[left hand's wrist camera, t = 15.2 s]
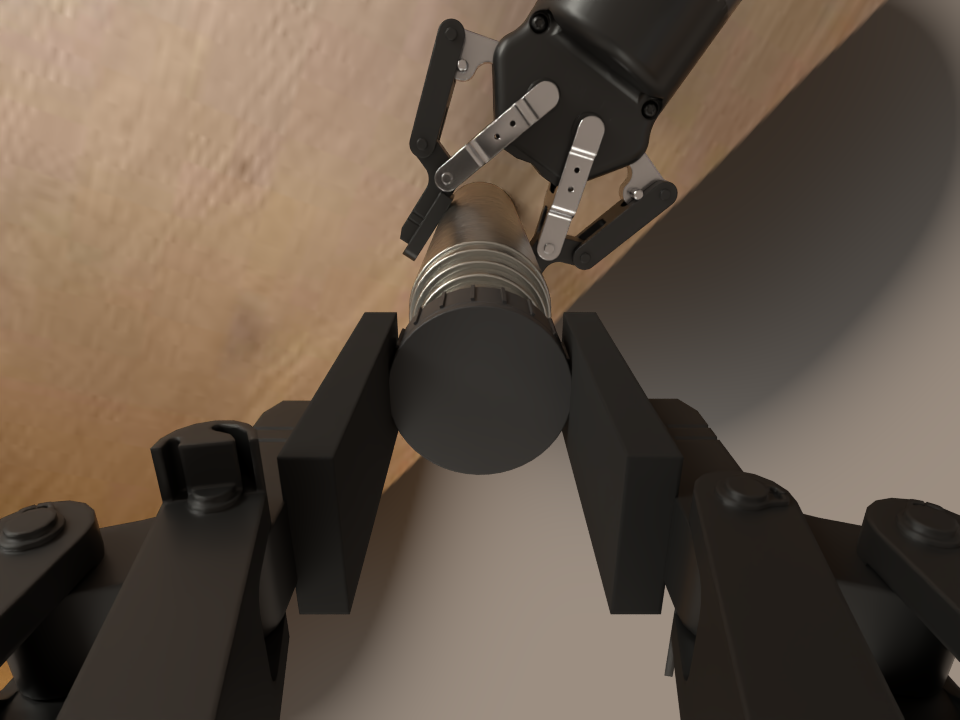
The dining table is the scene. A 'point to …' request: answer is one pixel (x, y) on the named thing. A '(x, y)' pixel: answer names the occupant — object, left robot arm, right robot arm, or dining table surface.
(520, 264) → the bottle
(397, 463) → the dining table surface
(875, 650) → the left robot arm
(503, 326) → the cap
